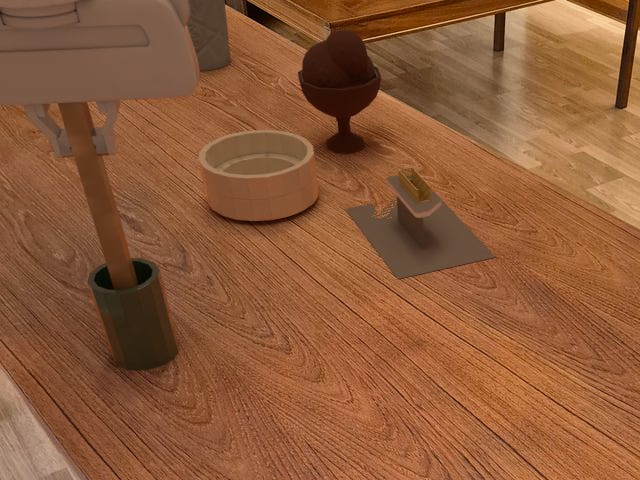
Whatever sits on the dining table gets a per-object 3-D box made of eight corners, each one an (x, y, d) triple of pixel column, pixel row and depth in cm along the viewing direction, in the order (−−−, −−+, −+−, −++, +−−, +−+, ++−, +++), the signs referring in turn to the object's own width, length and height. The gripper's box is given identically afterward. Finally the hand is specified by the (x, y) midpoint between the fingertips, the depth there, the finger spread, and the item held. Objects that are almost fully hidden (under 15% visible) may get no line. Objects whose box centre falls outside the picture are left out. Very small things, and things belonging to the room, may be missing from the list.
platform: (434, 191, 113) (433, 140, 109) (495, 257, 102) (496, 203, 97) (344, 208, 110) (339, 157, 105) (397, 279, 98) (394, 224, 93)
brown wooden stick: (133, 360, 85) (55, 106, 69) (137, 341, 87) (62, 90, 71) (152, 358, 85) (80, 105, 69) (155, 339, 88) (86, 90, 71)
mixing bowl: (205, 229, 105) (195, 181, 101) (211, 178, 115) (201, 132, 111) (321, 221, 107) (315, 173, 103) (317, 172, 117) (311, 127, 113)
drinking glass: (171, 74, 142) (153, -9, 134) (174, 52, 149) (157, -28, 141) (236, 70, 143) (222, -12, 135) (236, 49, 151) (223, -30, 142)
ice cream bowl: (378, 126, 128) (371, 13, 118) (389, 159, 120) (382, 41, 110) (304, 131, 126) (290, 17, 116) (310, 165, 119) (295, 46, 108)
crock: (110, 378, 84) (82, 296, 78) (118, 340, 89) (92, 259, 83) (177, 372, 85) (155, 290, 79) (182, 335, 90) (161, 254, 83)
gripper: (184, -51, 67) (218, 131, 77) (-107, -43, 64) (-33, 144, 74) (177, -28, 63) (215, 162, 72) (-135, -19, 60) (-53, 178, 69)
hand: (87, 153), depth 73 cm, fingers closed on brown wooden stick, 2 cm apart
